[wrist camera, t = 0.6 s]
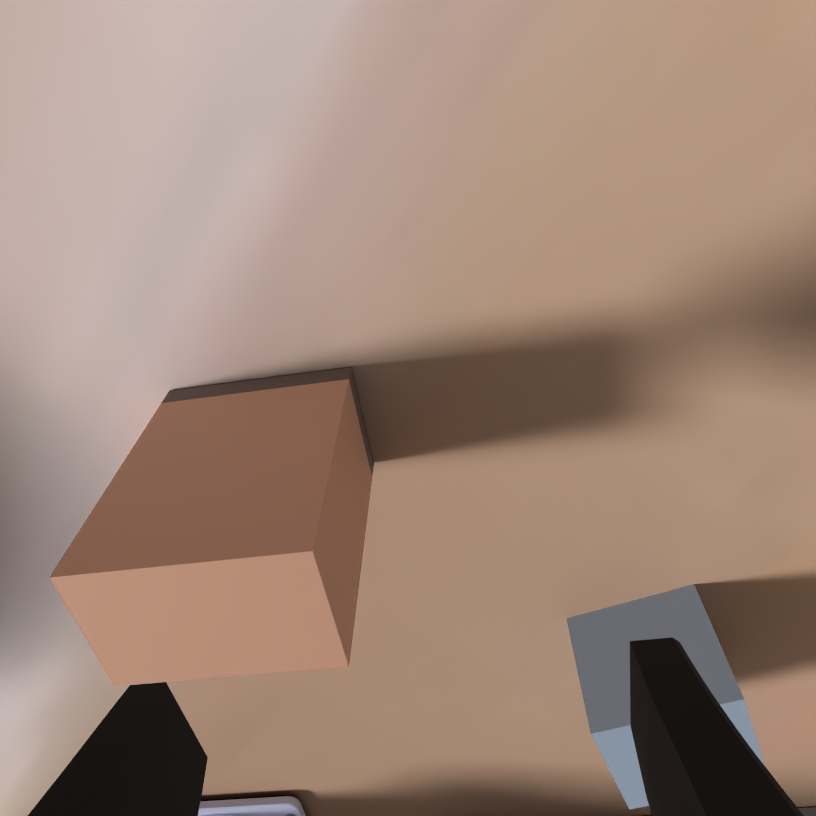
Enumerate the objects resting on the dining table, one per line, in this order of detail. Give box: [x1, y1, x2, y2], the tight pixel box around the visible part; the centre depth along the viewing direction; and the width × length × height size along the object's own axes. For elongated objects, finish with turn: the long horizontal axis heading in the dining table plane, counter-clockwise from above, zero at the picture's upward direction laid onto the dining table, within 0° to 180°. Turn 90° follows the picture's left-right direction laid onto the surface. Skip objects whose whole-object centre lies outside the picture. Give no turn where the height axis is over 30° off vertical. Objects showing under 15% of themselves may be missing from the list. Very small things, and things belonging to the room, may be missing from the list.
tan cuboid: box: [49, 367, 374, 686], centre depth 18 cm, size 3×5×7 cm, turn 99°
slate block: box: [567, 584, 765, 810], centre depth 23 cm, size 4×4×4 cm
